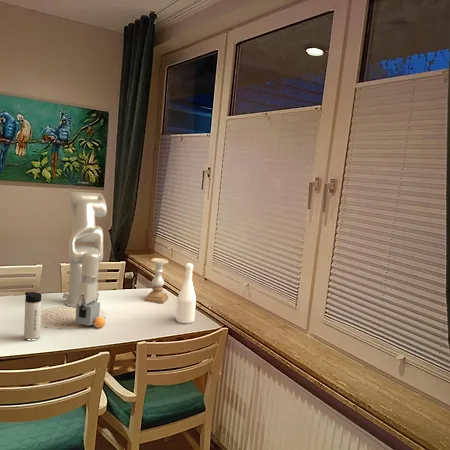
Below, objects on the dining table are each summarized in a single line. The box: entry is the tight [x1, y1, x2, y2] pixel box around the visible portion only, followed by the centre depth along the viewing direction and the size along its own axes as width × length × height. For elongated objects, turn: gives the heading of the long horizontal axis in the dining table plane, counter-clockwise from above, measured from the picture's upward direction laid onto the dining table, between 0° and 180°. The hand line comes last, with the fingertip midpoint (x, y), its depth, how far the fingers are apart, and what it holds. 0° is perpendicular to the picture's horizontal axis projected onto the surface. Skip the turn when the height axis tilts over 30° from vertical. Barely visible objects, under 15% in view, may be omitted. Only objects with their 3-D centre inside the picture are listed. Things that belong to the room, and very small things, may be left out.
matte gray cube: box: [74, 301, 101, 326], centre depth 204 cm, size 8×8×9 cm
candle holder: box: [144, 257, 169, 305], centre depth 251 cm, size 11×11×24 cm
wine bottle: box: [175, 262, 197, 325], centre depth 221 cm, size 10×10×30 cm
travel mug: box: [23, 291, 42, 340], centre depth 184 cm, size 6×7×20 cm
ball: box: [93, 316, 106, 329], centre depth 204 cm, size 5×5×5 cm
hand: (87, 314), depth 204 cm, fingers closed on matte gray cube, 7 cm apart
